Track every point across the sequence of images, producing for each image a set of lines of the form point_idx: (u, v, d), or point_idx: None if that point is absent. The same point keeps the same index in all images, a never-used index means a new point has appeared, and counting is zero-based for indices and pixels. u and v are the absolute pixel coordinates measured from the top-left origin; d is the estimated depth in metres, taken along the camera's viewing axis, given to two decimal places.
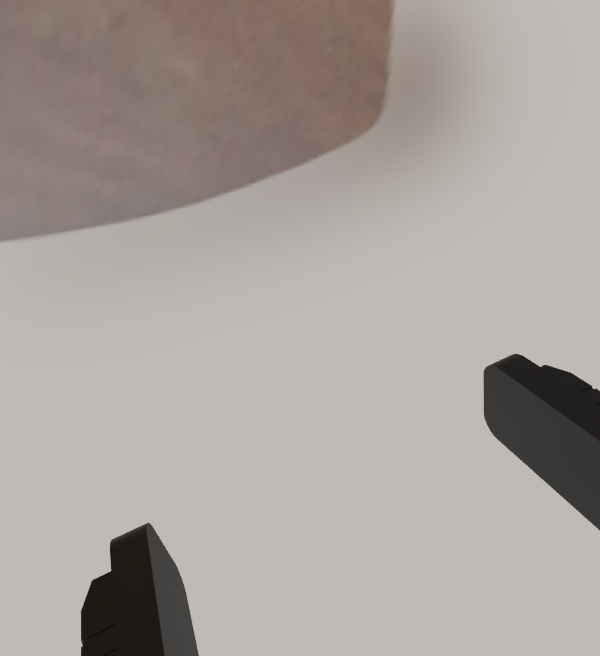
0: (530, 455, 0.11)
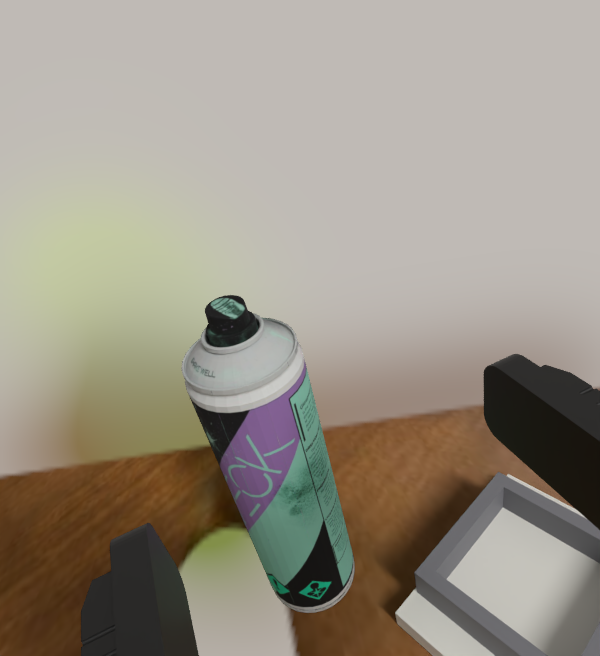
0: (530, 455, 0.11)
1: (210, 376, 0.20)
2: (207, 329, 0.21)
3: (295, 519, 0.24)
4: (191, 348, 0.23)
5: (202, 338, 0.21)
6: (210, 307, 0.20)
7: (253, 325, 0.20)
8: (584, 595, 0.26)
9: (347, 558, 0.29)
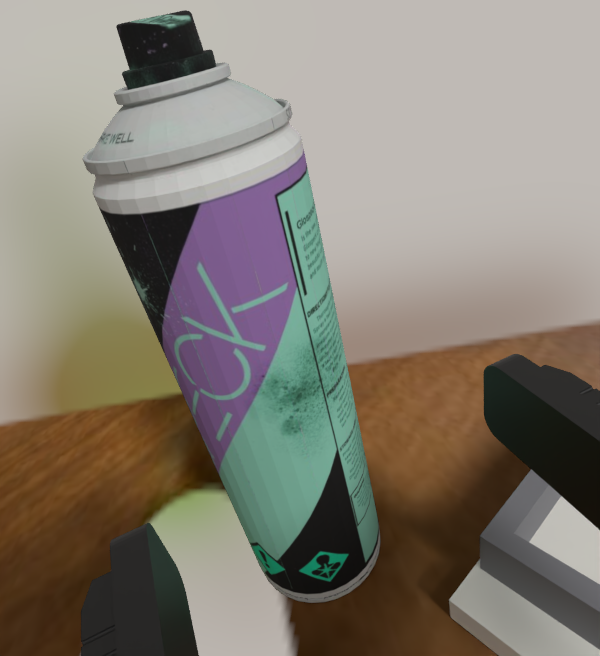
0: (530, 455, 0.11)
1: (125, 141, 0.11)
2: (125, 71, 0.11)
3: (290, 442, 0.15)
4: None
5: (117, 91, 0.11)
6: (127, 22, 0.11)
7: (208, 56, 0.11)
8: None
9: (371, 520, 0.19)
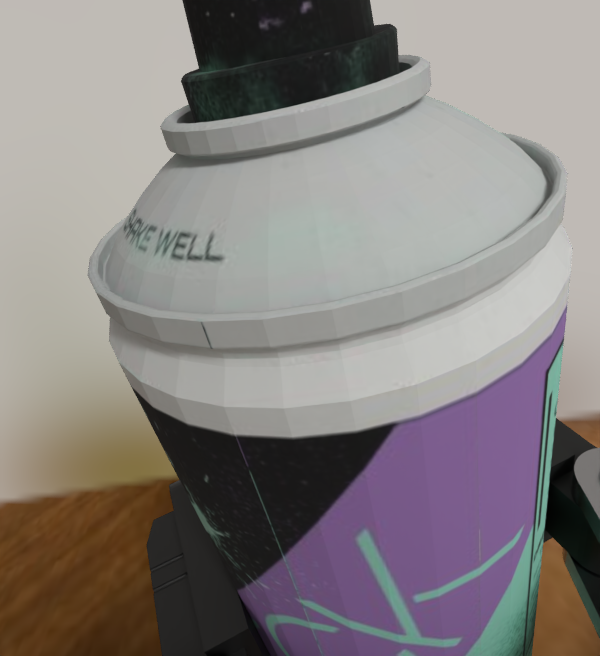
0: None
1: (200, 259, 0.04)
2: (188, 75, 0.05)
3: None
4: None
5: (167, 120, 0.05)
6: None
7: (394, 39, 0.05)
8: None
9: None
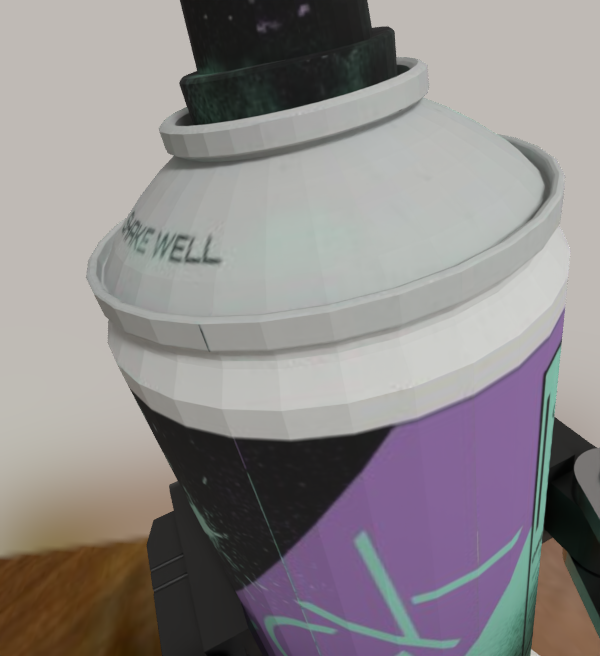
0: None
1: (198, 261, 0.04)
2: (186, 77, 0.05)
3: None
4: None
5: (166, 122, 0.05)
6: None
7: (392, 42, 0.05)
8: None
9: None
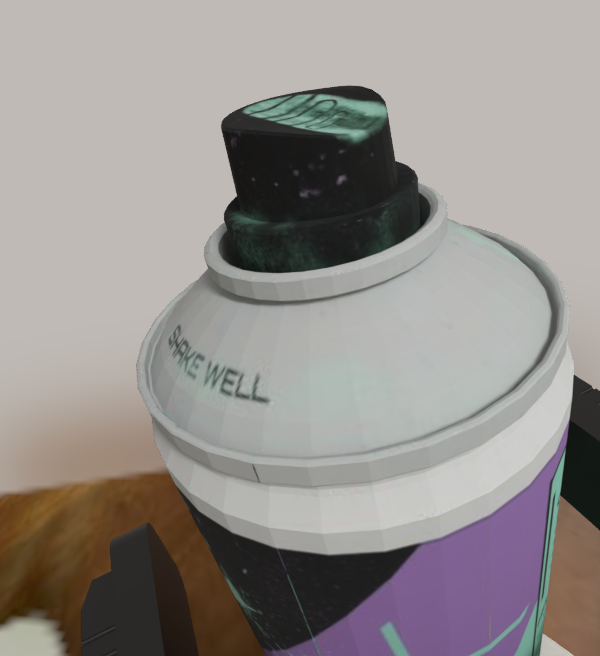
0: None
1: (247, 397, 0.05)
2: (229, 213, 0.05)
3: None
4: (174, 303, 0.07)
5: (210, 250, 0.06)
6: (243, 116, 0.05)
7: (415, 190, 0.05)
8: None
9: None
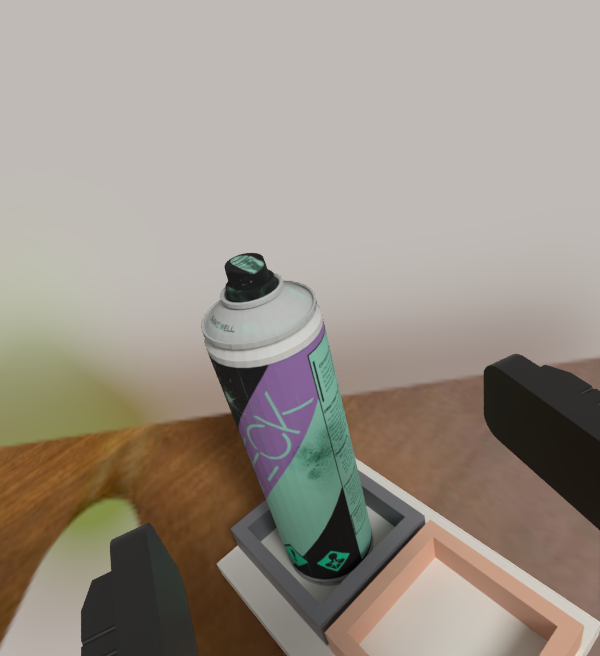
0: (530, 455, 0.11)
1: (229, 331, 0.20)
2: (226, 286, 0.21)
3: (313, 483, 0.24)
4: (210, 309, 0.23)
5: (221, 295, 0.21)
6: (230, 263, 0.21)
7: (272, 281, 0.21)
8: None
9: (366, 531, 0.28)
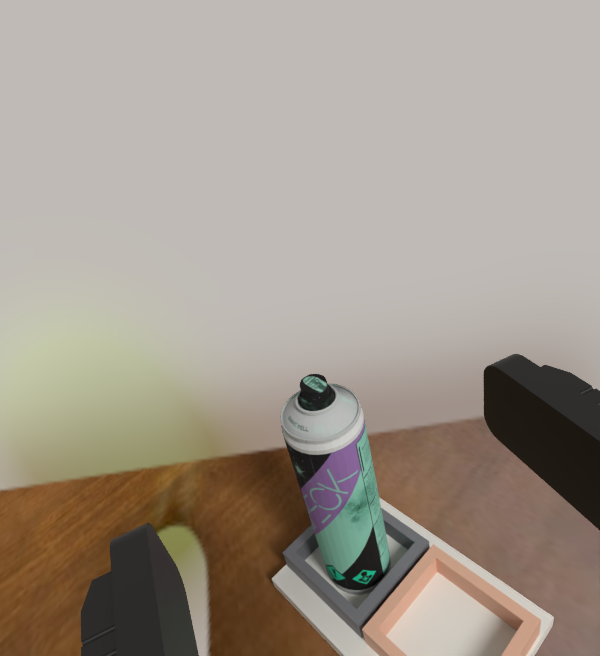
0: (530, 455, 0.11)
1: (304, 430, 0.30)
2: (300, 397, 0.31)
3: (354, 525, 0.34)
4: (284, 407, 0.33)
5: (296, 403, 0.31)
6: (303, 383, 0.30)
7: (332, 395, 0.31)
8: None
9: (386, 553, 0.39)
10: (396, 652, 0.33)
